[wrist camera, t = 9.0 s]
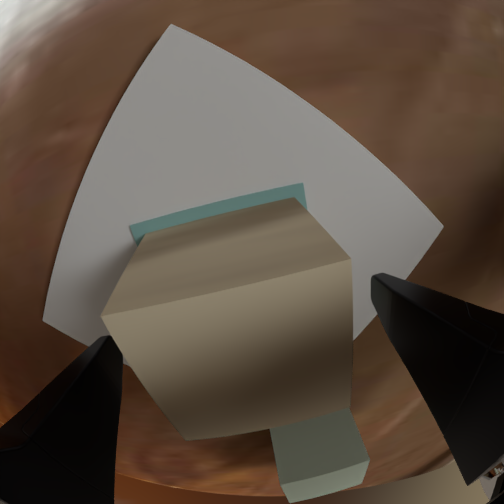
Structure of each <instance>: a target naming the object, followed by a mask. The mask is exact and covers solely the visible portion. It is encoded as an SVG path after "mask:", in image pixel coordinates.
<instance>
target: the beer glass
mask: <svg viewBox="0 0 504 504" xmlns="http://www.w3.org/2000/svg"><path fill="white" fill-rule="evenodd" d="M503 472H504V465H503V463H502V462H501V463H499V464H498V465H497V466H495V467H494V468H493V469H491V470H490V471H489V472H487V473H486V474H484V475H483V476H482V477H480V478H479V479H480V482H481V485H482V487H483V490H484V492H485V493H486V495H487V497H488V499H489V500H490V499H491V496H492V493H493V490H494V487H495V484H496V480H497V477H499V476H500V475H501V474H502V473H503Z"/></svg>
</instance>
